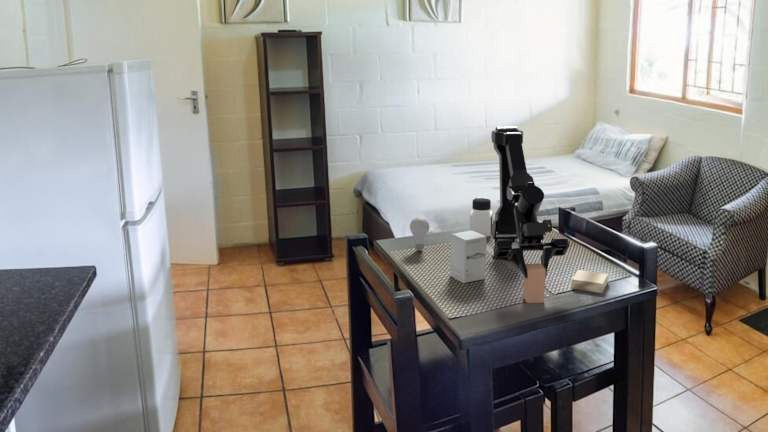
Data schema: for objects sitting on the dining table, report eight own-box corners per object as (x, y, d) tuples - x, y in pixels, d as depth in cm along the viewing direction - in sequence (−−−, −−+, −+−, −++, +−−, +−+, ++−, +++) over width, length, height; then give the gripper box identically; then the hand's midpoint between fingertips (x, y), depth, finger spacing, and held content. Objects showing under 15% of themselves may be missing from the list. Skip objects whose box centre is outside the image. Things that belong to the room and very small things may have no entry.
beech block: (571, 289, 189) (571, 279, 189) (577, 280, 196) (578, 269, 196) (601, 294, 186) (602, 283, 185) (607, 284, 193) (608, 274, 192)
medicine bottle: (490, 236, 235) (491, 201, 232) (469, 235, 236) (470, 201, 233) (492, 230, 242) (493, 196, 239) (471, 229, 243) (471, 195, 240)
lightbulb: (432, 249, 223) (433, 216, 220) (423, 255, 218) (423, 220, 215) (416, 246, 226) (415, 213, 223) (406, 252, 221) (406, 218, 218)
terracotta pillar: (522, 296, 184) (524, 264, 182) (539, 296, 184) (541, 263, 182) (527, 303, 180) (528, 269, 178) (544, 302, 180) (545, 269, 178)
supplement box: (464, 284, 194) (464, 240, 190) (449, 275, 200) (449, 233, 196) (486, 279, 197) (487, 236, 193) (471, 271, 203) (471, 229, 200)
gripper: (496, 209, 179) (504, 264, 172) (569, 207, 180) (580, 262, 172) (490, 230, 189) (497, 283, 181) (558, 228, 190) (569, 281, 182)
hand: (535, 277), depth 179 cm, fingers closed on terracotta pillar, 4 cm apart
